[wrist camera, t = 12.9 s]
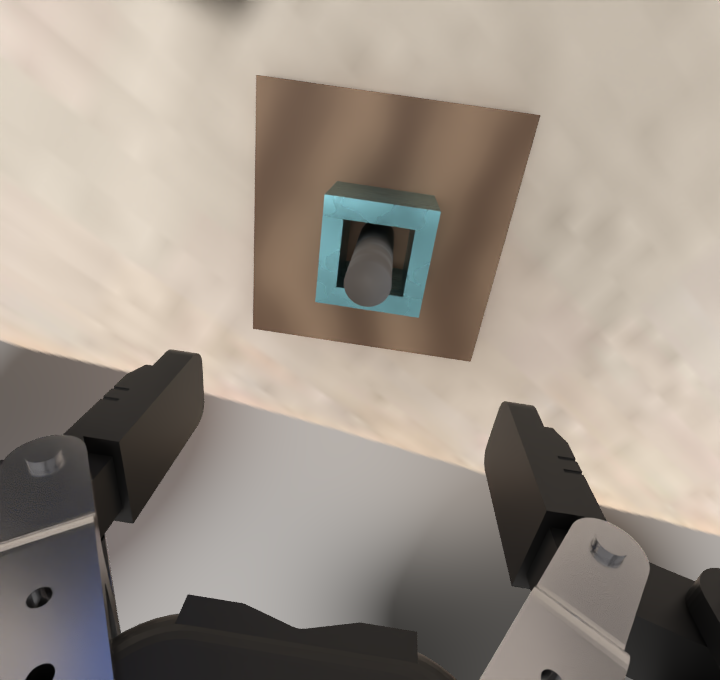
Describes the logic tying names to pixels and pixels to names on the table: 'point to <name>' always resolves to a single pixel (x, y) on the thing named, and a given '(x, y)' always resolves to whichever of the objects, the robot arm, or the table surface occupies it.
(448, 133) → the post stand
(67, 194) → the table surface
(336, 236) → the collar
